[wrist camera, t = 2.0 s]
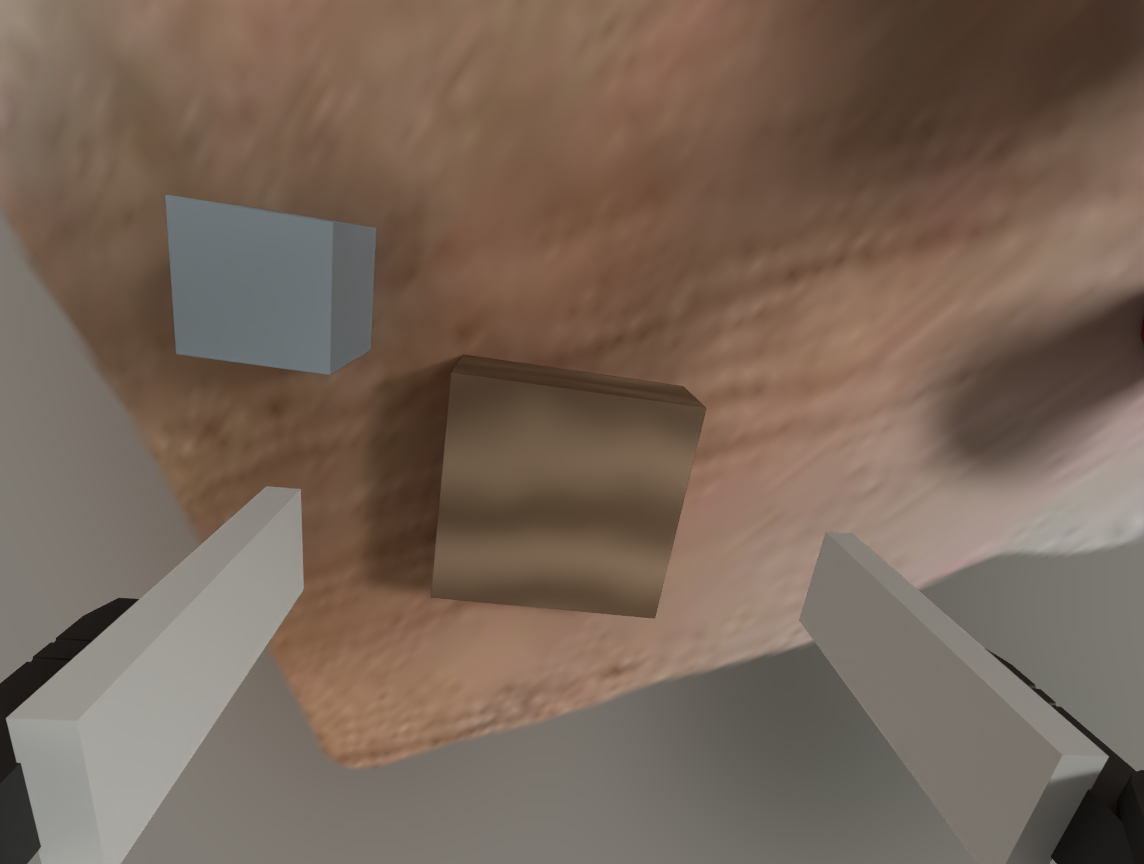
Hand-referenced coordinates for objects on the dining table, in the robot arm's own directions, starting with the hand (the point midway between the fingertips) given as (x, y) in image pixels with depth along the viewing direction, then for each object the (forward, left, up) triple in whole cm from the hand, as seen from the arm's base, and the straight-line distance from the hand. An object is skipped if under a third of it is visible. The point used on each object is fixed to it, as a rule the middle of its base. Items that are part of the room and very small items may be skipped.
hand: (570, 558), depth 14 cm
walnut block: (+7, +2, -22) cm, 23 cm away
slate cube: (-3, -14, -22) cm, 26 cm away
